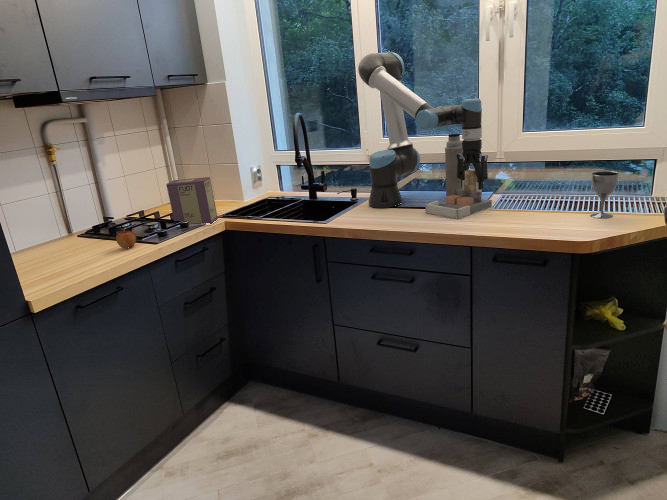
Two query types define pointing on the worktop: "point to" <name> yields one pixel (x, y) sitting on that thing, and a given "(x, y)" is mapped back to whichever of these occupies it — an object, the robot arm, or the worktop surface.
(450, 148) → the thermos bottle
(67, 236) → the worktop surface
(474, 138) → the robot arm
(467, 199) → the tile
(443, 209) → the tray
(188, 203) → the box
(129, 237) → the apple
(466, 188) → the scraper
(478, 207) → the board
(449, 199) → the tile
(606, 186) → the wine glass
